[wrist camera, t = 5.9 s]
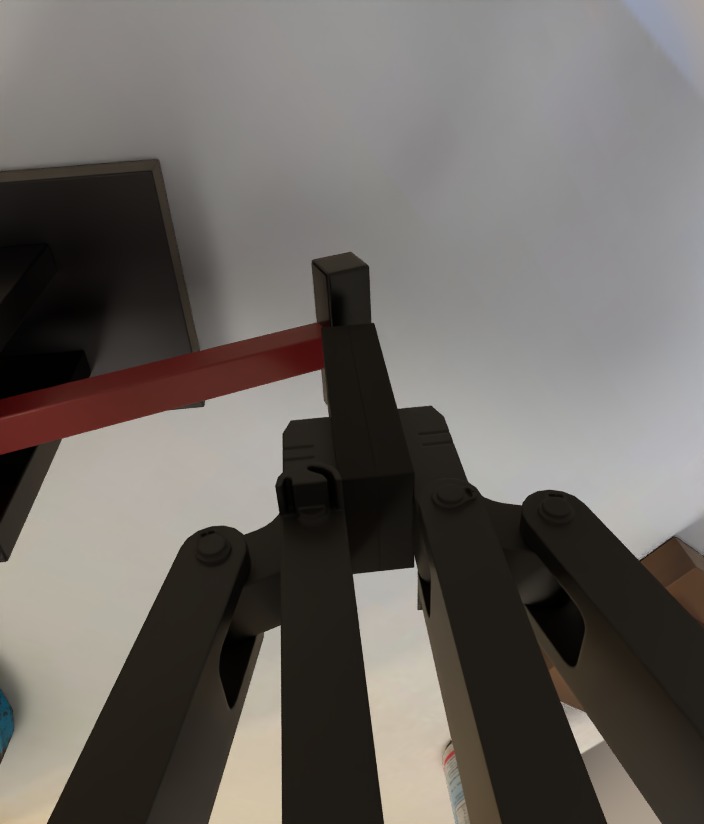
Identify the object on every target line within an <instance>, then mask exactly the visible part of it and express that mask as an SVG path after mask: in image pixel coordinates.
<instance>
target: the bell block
mask: <svg viewBox="0 0 704 824" xmlns="http://www.w3.org/2000/svg"><path fill="white" fill-rule="evenodd" d="M641 563H642V564H643V565H644V566H645V567H646V569H647V570H648V571H649V572H650V573H651V574H652V575H653V576H654V577H655V578H656V579H657V580H658V581H659V582H660V583H661V584H662V585H663V586H664V587H665V588H666V589H667V590H668V592H669V593H670V594H671V595H672V596H673V597H674V598H675V599H676V600H677V601H678V602H679V603H680V604H681V605H682V606H683V607H684V608H685V609H686V610H687V611H688V612H689V613H690V615H691V616H692V617H693V618H694V619H695V620H696V621H697V622H698V623H699V624H700V625H701V626H702V627H703V628H704V557H703V556H702V555H700V554H699V553H697V552H696V551H695V550H693V549H692V548H690V547H689V546H687V545H686V544H685V543H683V542H682V541H680V540H679V539H677V538H676V537H673V538H672V539H671V540H669V541H668V542H666V543H665V544H664V545H662V546H661V547H660V548H658V549H657V550H656V551H654V552H653V553H651V554H650V555H649V556H647V557H646V558H645V559H643V560H642V561H641ZM538 644H539V643H538ZM539 647H540V649H541V652H542V655H543V657H544V660H545V662H546V665H547V668H548V670H549V673H550V675H551V678H552V681H553V683H554V686H555V688H556V691H557V694H558V696H559V699H560V701H561V702H564V703H566V704H568V705H570V706H573V707H575V708H577V709H579V710H582V711H584V709H583V708H582V706H581V705H580V703H579V702H578V700H577V699H576V697H575V696H574V694H573V693H572V692H571V690H570V689H569V687H568V686H567V684H566V683H565V681H564V680H563V678H562V677H561V675H560V674H559V673H558V671H557V670H556V668H555V667H554V665H553V664H552V662H551V661H550V659H549V658H548V656H547V655H546V654H545V652H544V651H543V649H542V648H541V646H540V645H539ZM584 712H585V711H584Z"/></svg>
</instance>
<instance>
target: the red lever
mask: <svg viewBox="0 0 704 824" xmlns="http://www.w3.org/2000/svg"><path fill="white" fill-rule="evenodd" d="M312 274H313V285H314V296H315V307H316V318H317V323H313V324H309V325H305V326H300V327H296V328H292V329H288V330H284V331H280V332H276V333H272V334H267V335H263V336H259V337H255V338H251V339H247V340H243V341H239V342H234V343H230V344H226V345H222V346H218V347H214V348H210V349H206V350H202V351H197V352H193V353H189V354H185V355H181V356H177V357H173V358H169V359H164V360H160V361H156V362H152V363H148V364H144V365H140V366H136V367H132V368H127V369H123V370H119V371H115V372H111V373H107V374H103V375H99V376H94V377H90V378H86V379H82V380H78V381H74V382H70V383H66V384H61V385H57V386H53V387H49V388H45V389H41V390H37V391H33V392H29V393H24V394H20V395H16V396H12V397H8V398H4V399H0V455H2V454H6V453H9V452H13V451H17V450H21V449H24V448H28V447H32V446H36V445H39V444H43V443H47V442H51V441H54V440H58V439H62V438H66V437H69V436H73V435H77V434H81V433H84V432H88V431H92V430H96V429H99V428H103V427H107V426H111V425H114V424H118V423H122V422H126V421H129V420H133V419H137V418H140V417H144V416H148V415H152V414H155V413H159V412H163V411H167V410H170V409H174V408H178V407H182V406H185V405H189V404H193V403H197V402H200V401H204V400H208V399H212V398H215V397H219V396H223V395H227V394H230V393H234V392H238V391H242V390H245V389H249V388H253V387H257V386H260V385H264V384H268V383H272V382H275V381H279V380H283V379H287V378H290V377H294V376H298V375H302V374H305V373H309V372H313V371H317V370H320V369H321V372H322V382H323V393H324V401H325V402H326V404H327V405H328V402H327V391H326V379H325V368H324V357H323V346H322V334H321V328H324V327H335V326H346V325H357V324H368V323H371V304H370V278H369V266H368V265H367V264H366V263H365V262H364V261H362V260H361V259H360V258H358V257H357V256H356V255H355V254H353V253H352V252H347V253H342V254H338V255H333V256H328V257H323V258H319V259H314V260H312Z"/></svg>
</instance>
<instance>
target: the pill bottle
mask: <svg viewBox="0 0 704 824" xmlns="http://www.w3.org/2000/svg"><path fill="white" fill-rule="evenodd" d="M443 768H444V773H445V777H446V782H447V787H448V791H449V796H450V800H451V805H452V809H453V814H454V819H455V823H456V824H470V820H469V816H468V811H467V807H466V802H465V798H464V793H463V789H462V784H461V780H460V775H459V771H458V766H457V762H456V757H455V753H454V748H453V744H452V743H451V744H450V745H449V746H448V748H447V749H446V751H445V753H444V755H443Z"/></svg>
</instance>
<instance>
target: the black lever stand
mask: <svg viewBox="0 0 704 824" xmlns="http://www.w3.org/2000/svg"><path fill="white" fill-rule="evenodd" d="M197 351H200V350H199V345H198V341H197V336H196V331H195V327H194V322H193V317H192V313H191V308H190V303H189V299H188V294H187V289H186V285H185V280H184V275H183V271H182V266H181V261H180V257H179V252H178V247H177V243H176V238H175V233H174V229H173V224H172V219H171V215H170V210H169V205H168V201H167V196H166V191H165V187H164V182H163V177H162V173H161V168H160V163H159V160H157V159H156V160H143V161H131V162H118V163H105V164H93V165H80V166H67V167H55V168H42V169H30V170H17V171H4V172H0V399H4V398H8V397H12V396H16V395H20V394H24V393H29V392H33V391H37V390H41V389H45V388H49V387H53V386H57V385H61V384H66V383H70V382H74V381H78V380H82V379H86V378H90V377H94V376H99V375H103V374H107V373H111V372H115V371H119V370H123V369H127V368H132V367H136V366H140V365H144V364H148V363H152V362H156V361H160V360H164V359H169V358H173V357H177V356H181V355H185V354H189V353H193V352H197ZM204 405H205V400H204V401H200V402H197V403H193V404H189V405H185V406H182V407H178V408H174V409H170V410H176V409H186V408H196V407H204ZM61 440H62V439H58V440H54V441H51V442H47V443H43V444H39V445H36V446H32V447H28V448H24V449H21V450H17V451H13V452H9V453H6V454H2V455H0V562H6V561H8V559H9V557H10V555H11V553H12V550H13V548H14V546H15V544H16V541H17V539H18V537H19V535H20V532H21V530H22V528H23V526H24V523H25V521H26V519H27V517H28V514H29V512H30V510H31V508H32V505H33V503H34V501H35V499H36V496H37V494H38V492H39V490H40V487H41V485H42V483H43V481H44V478H45V476H46V474H47V472H48V469H49V467H50V465H51V463H52V460H53V458H54V456H55V454H56V451H57V449H58V447H59V445H60V442H61Z"/></svg>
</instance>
